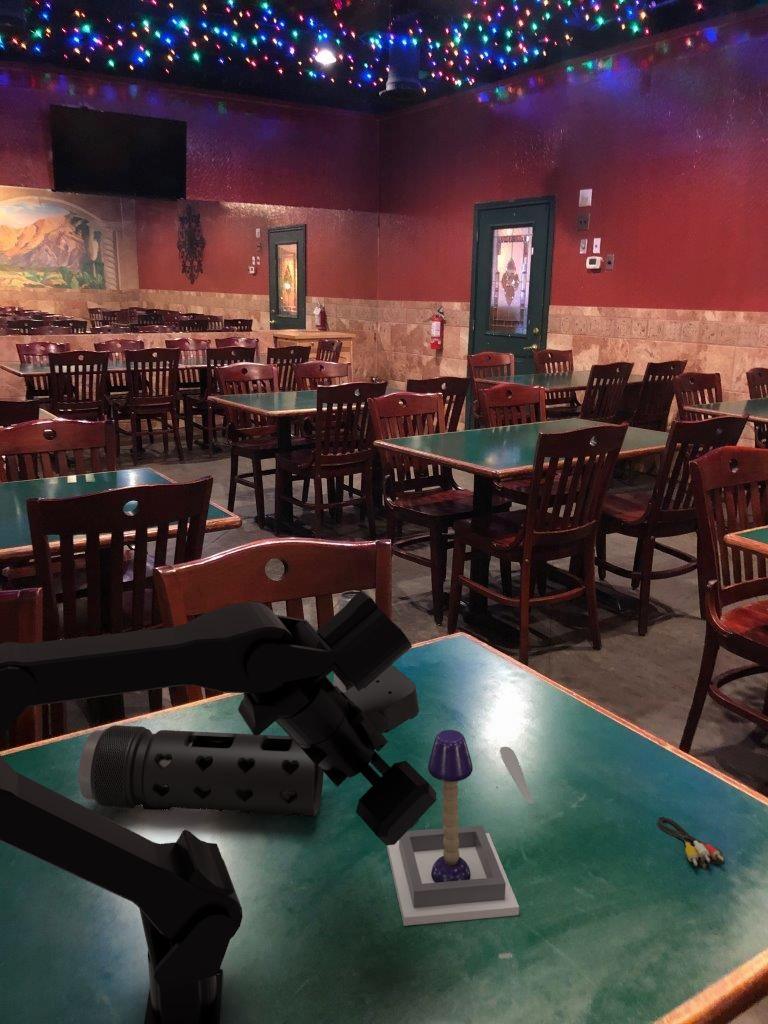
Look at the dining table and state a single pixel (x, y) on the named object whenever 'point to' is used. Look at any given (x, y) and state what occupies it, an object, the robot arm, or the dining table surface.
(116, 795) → the muzzle brake
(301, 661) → the robot arm
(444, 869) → the toy lamp
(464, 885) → the socket plate
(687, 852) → the composite cable
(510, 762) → the butter knife
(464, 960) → the dining table surface
